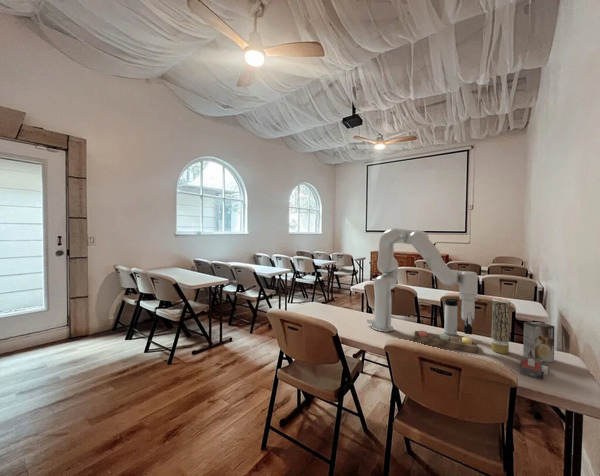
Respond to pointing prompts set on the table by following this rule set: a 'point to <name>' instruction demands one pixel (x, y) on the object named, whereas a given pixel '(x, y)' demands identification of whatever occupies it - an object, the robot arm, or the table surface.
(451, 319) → the travel mug
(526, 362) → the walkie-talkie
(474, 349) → the button panel
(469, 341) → the ochre button
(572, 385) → the table surface
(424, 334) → the brick red button
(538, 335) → the coffee box
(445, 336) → the sage button
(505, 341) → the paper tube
